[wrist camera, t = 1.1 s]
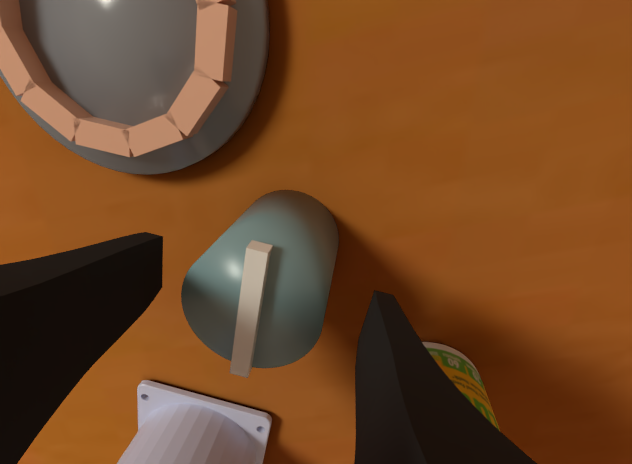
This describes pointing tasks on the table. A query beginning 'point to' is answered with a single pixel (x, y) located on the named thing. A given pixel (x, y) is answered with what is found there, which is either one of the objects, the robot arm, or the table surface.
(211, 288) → the cylinder with tan strip
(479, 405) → the supplement bottle
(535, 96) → the table surface
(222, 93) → the socket
